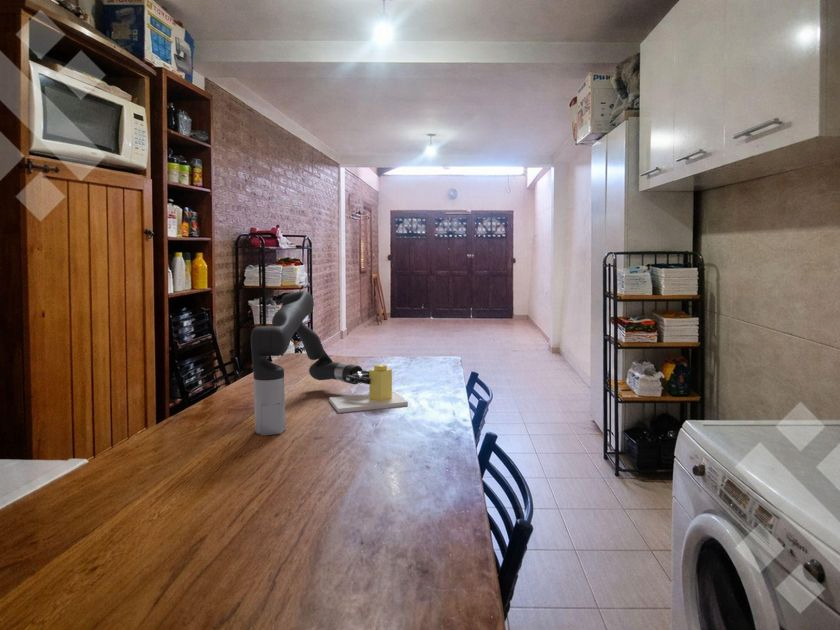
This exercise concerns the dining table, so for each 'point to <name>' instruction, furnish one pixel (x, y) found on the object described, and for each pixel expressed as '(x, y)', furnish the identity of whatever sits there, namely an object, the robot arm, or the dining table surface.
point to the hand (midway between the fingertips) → (377, 379)
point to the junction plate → (365, 402)
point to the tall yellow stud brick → (380, 383)
